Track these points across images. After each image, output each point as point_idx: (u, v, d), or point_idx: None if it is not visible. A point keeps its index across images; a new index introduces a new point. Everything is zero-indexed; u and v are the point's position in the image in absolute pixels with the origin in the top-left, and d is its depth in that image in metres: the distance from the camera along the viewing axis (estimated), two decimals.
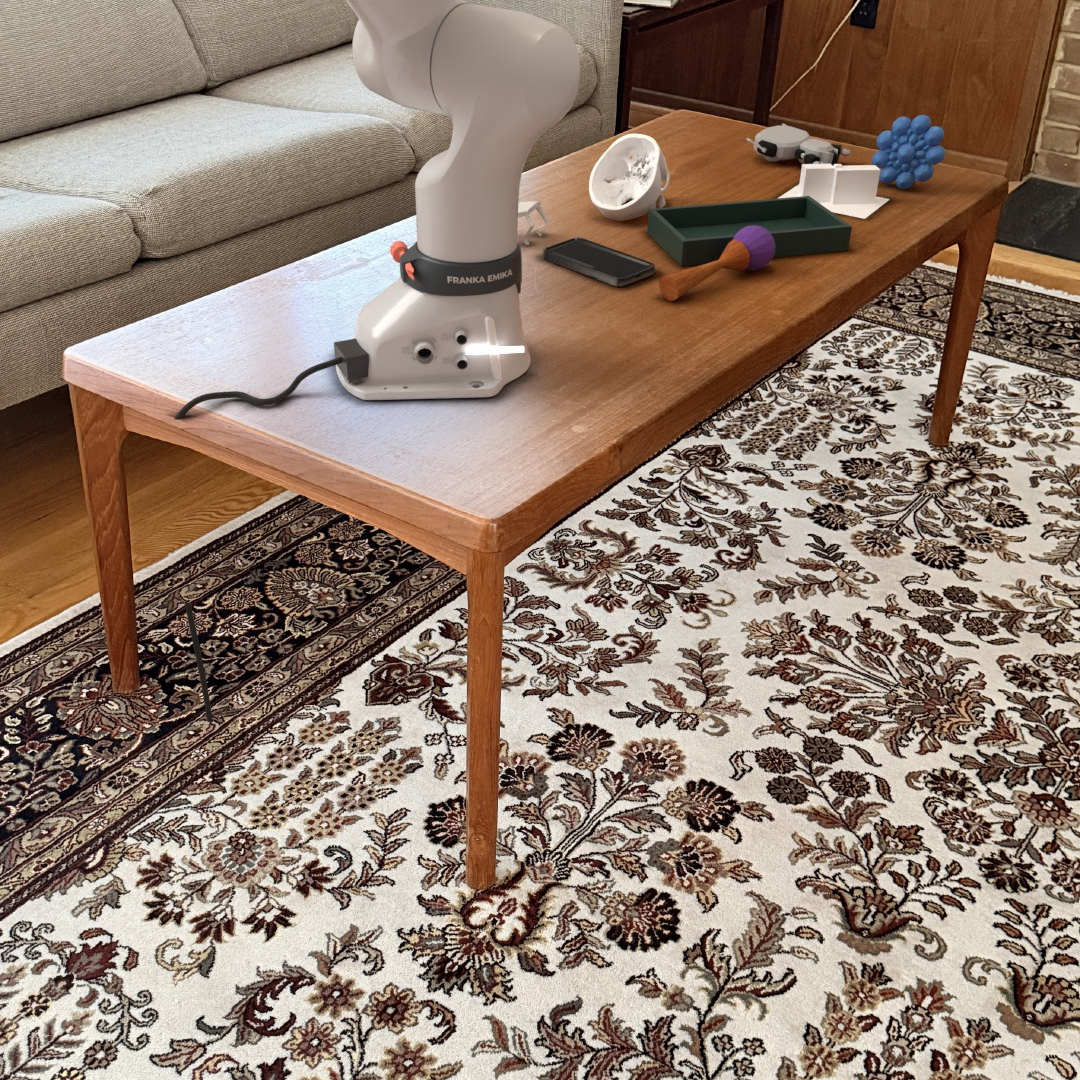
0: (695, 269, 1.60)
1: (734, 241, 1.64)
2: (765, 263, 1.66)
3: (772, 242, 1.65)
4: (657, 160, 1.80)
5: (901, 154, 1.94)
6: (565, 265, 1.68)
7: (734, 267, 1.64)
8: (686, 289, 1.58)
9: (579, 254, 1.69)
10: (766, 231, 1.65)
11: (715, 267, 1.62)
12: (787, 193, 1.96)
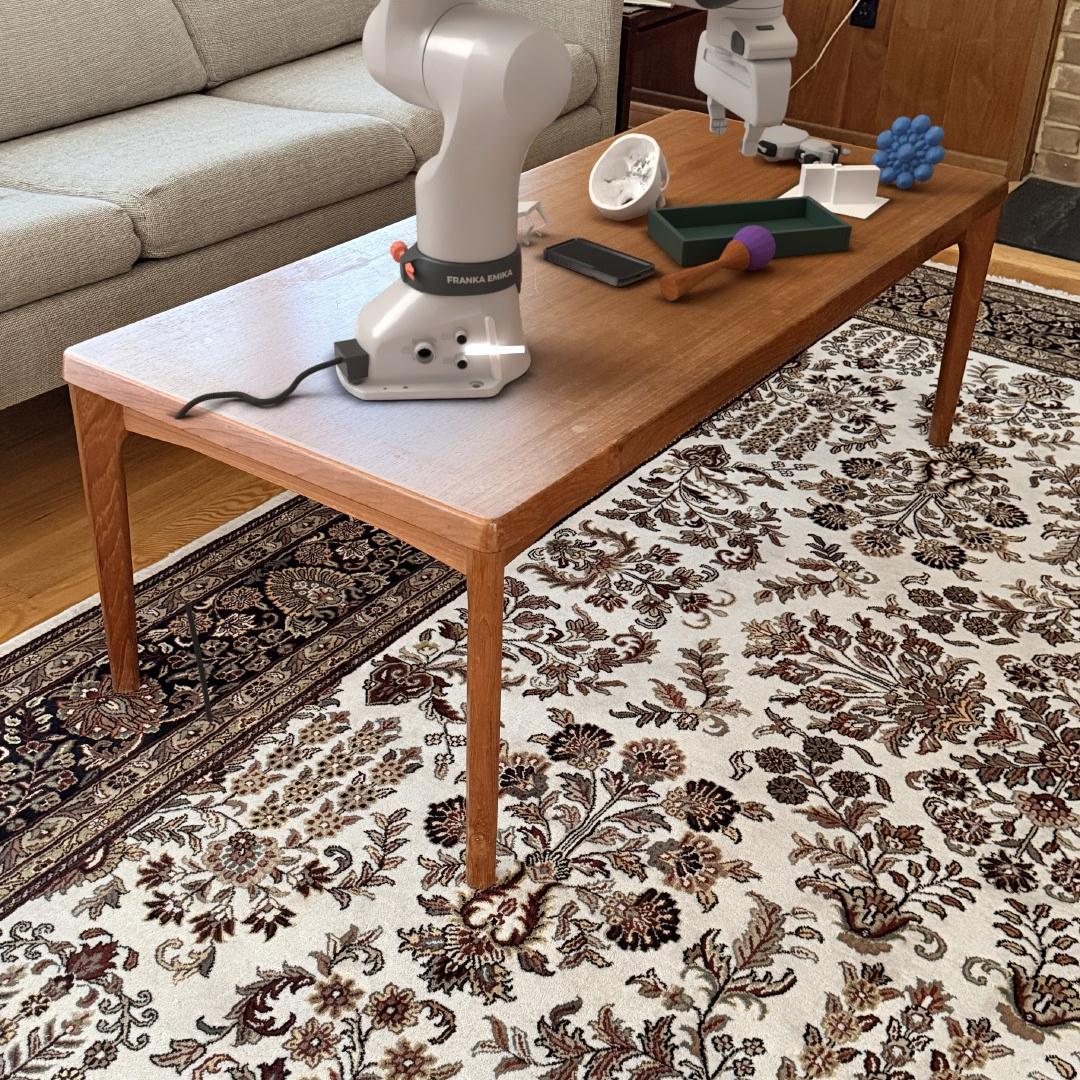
0: (695, 269, 1.60)
1: (734, 241, 1.64)
2: (765, 263, 1.66)
3: (772, 242, 1.65)
4: (657, 160, 1.80)
5: (901, 154, 1.94)
6: (565, 265, 1.68)
7: (734, 267, 1.64)
8: (686, 289, 1.58)
9: (579, 254, 1.69)
10: (766, 231, 1.65)
11: (715, 267, 1.62)
12: (787, 193, 1.96)
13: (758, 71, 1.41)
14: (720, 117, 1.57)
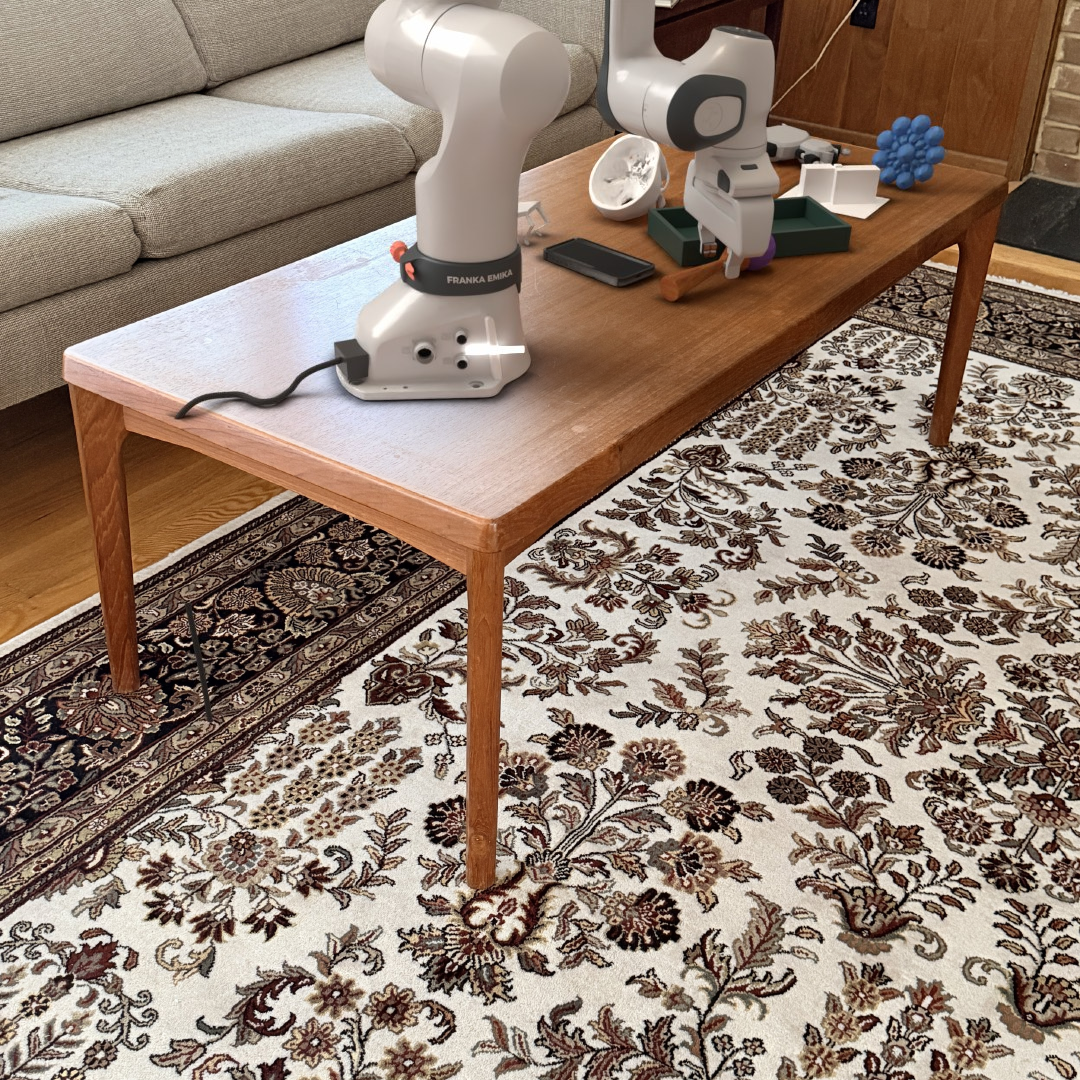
0: (695, 269, 1.60)
1: None
2: (765, 263, 1.66)
3: (772, 242, 1.65)
4: (657, 160, 1.80)
5: (901, 154, 1.94)
6: (565, 265, 1.68)
7: None
8: (687, 290, 1.58)
9: (579, 254, 1.69)
10: None
11: (715, 267, 1.62)
12: (787, 193, 1.96)
13: (742, 208, 1.50)
14: (710, 241, 1.66)
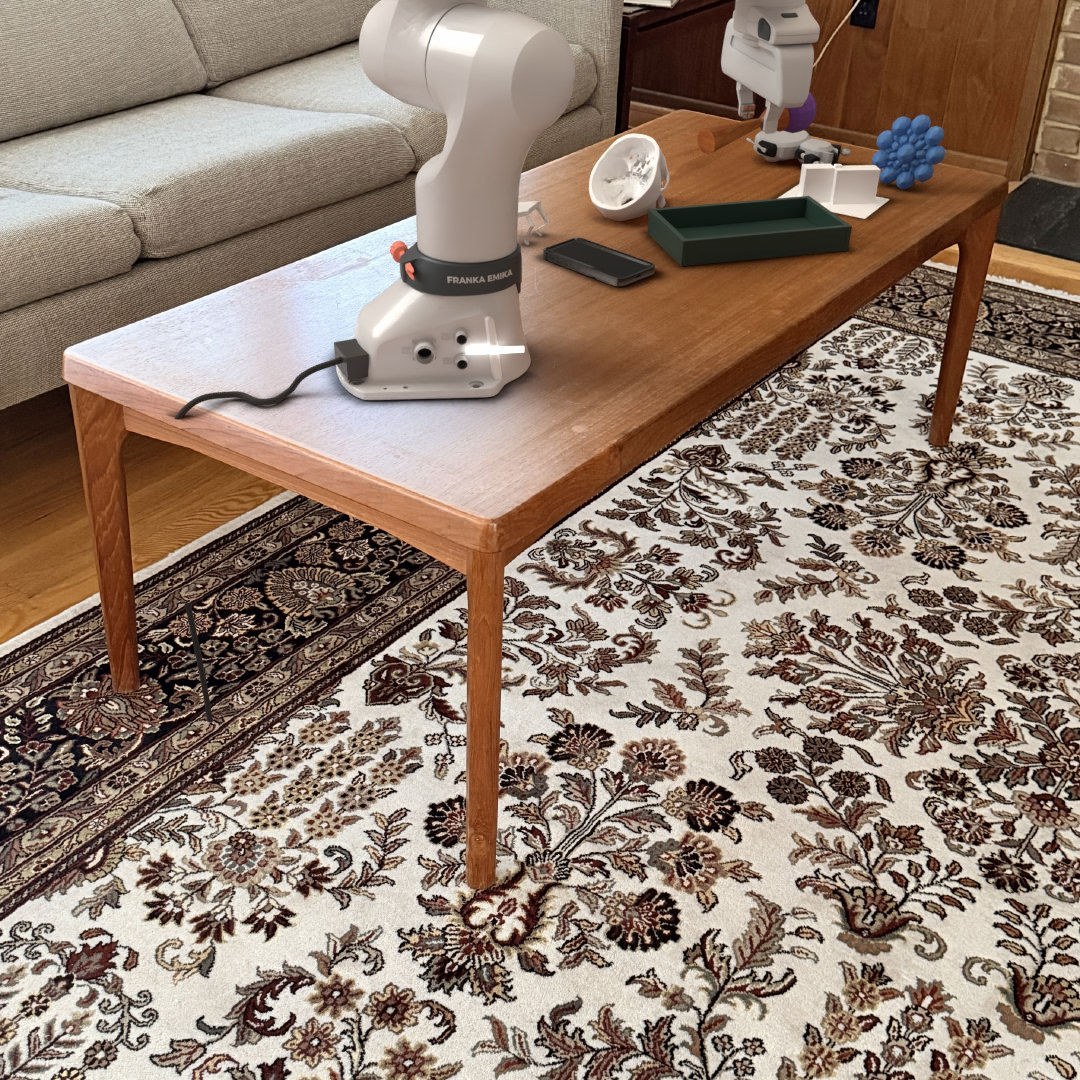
0: (733, 124, 1.62)
1: None
2: (805, 124, 1.68)
3: (813, 103, 1.67)
4: (657, 160, 1.80)
5: (901, 154, 1.94)
6: (565, 265, 1.68)
7: None
8: (723, 143, 1.61)
9: (579, 254, 1.69)
10: None
11: (754, 124, 1.64)
12: (787, 193, 1.96)
13: (783, 55, 1.52)
14: (748, 102, 1.68)
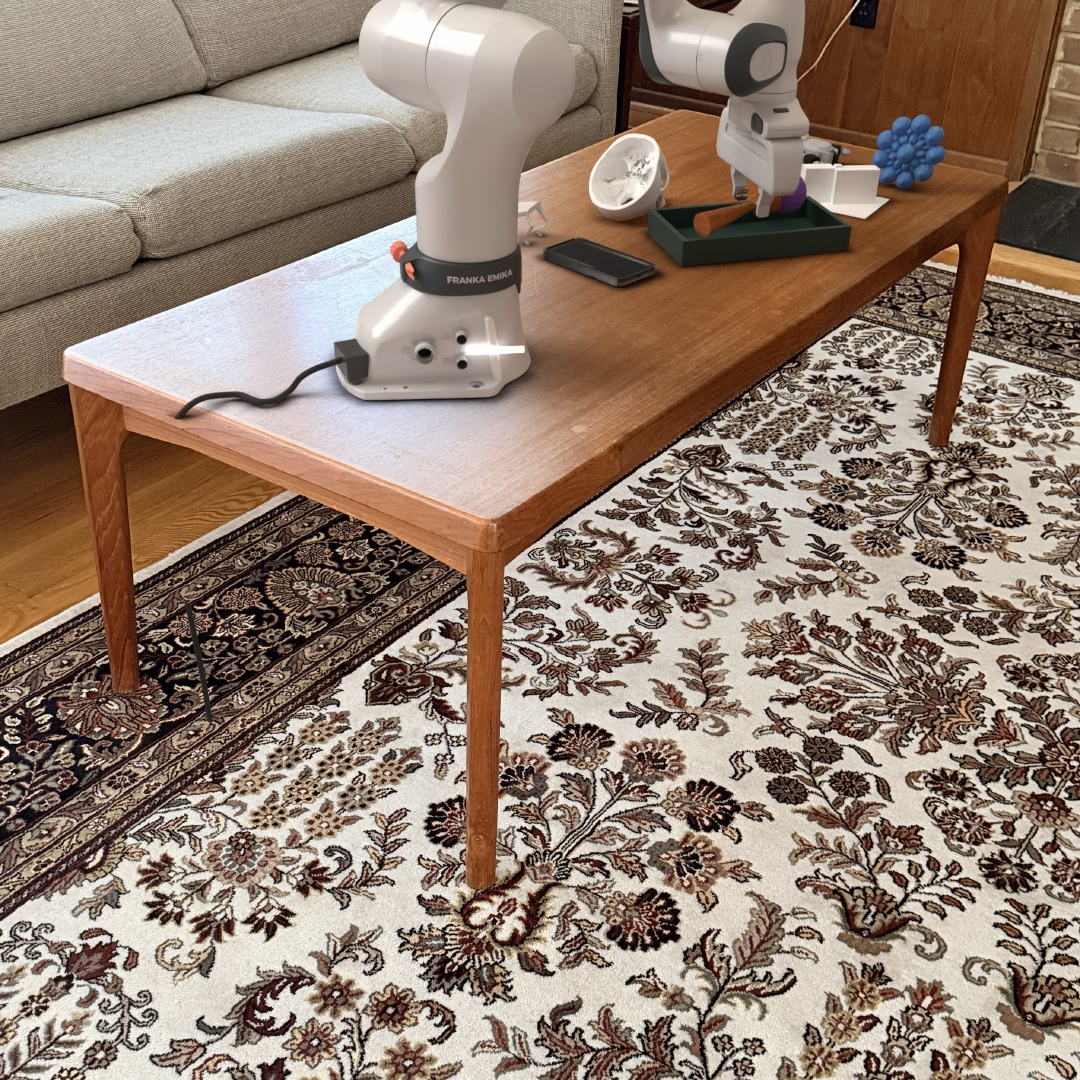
0: (728, 208, 1.71)
1: None
2: (796, 206, 1.77)
3: (804, 186, 1.76)
4: (657, 160, 1.80)
5: (901, 154, 1.94)
6: (565, 265, 1.68)
7: None
8: (718, 226, 1.70)
9: (579, 254, 1.69)
10: None
11: (747, 207, 1.73)
12: None
13: (775, 148, 1.61)
14: (742, 185, 1.77)
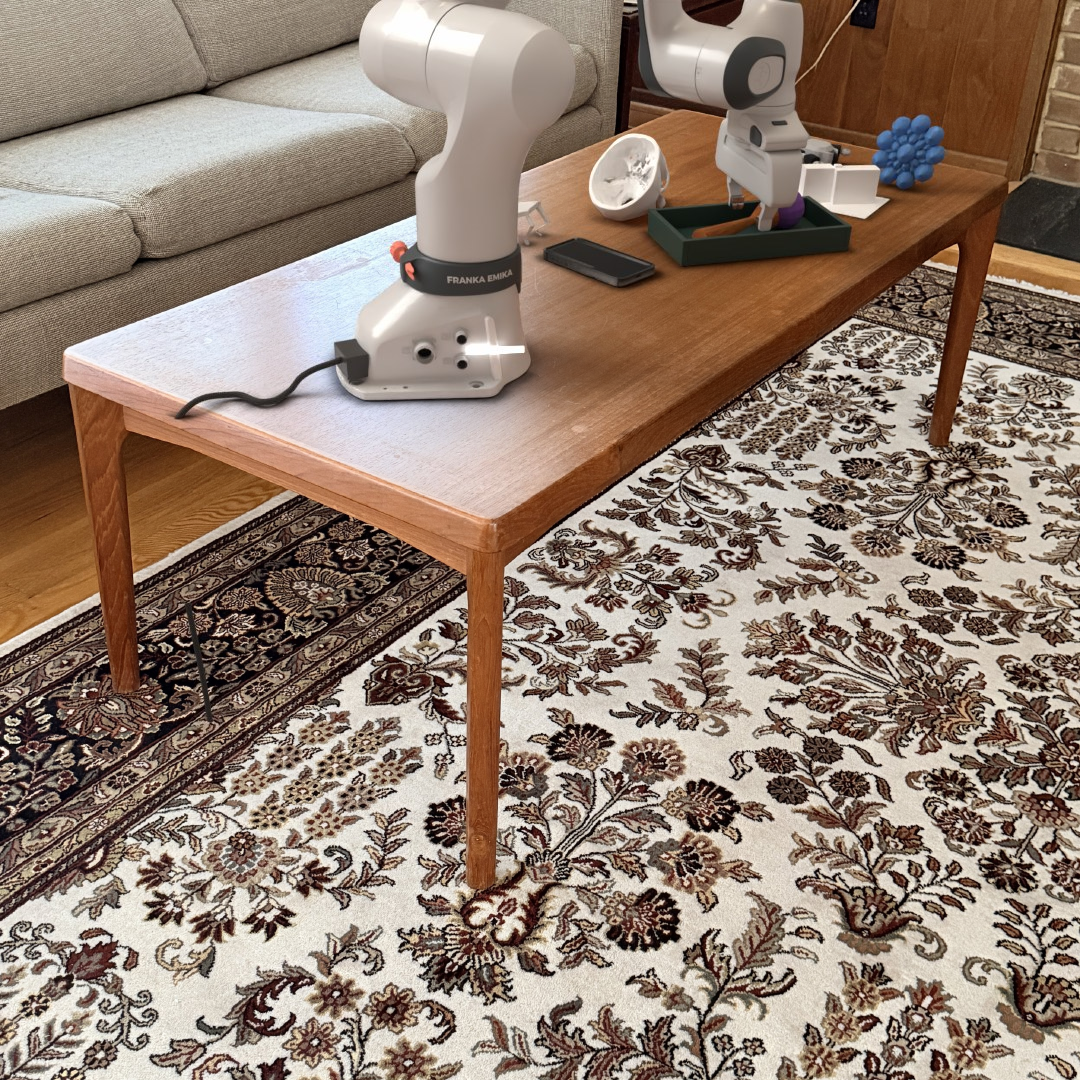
0: (726, 224, 1.72)
1: None
2: (794, 222, 1.78)
3: (802, 202, 1.77)
4: (657, 160, 1.80)
5: (901, 154, 1.94)
6: (565, 265, 1.68)
7: None
8: None
9: (579, 254, 1.69)
10: None
11: (746, 223, 1.74)
12: None
13: (773, 161, 1.62)
14: (738, 194, 1.78)
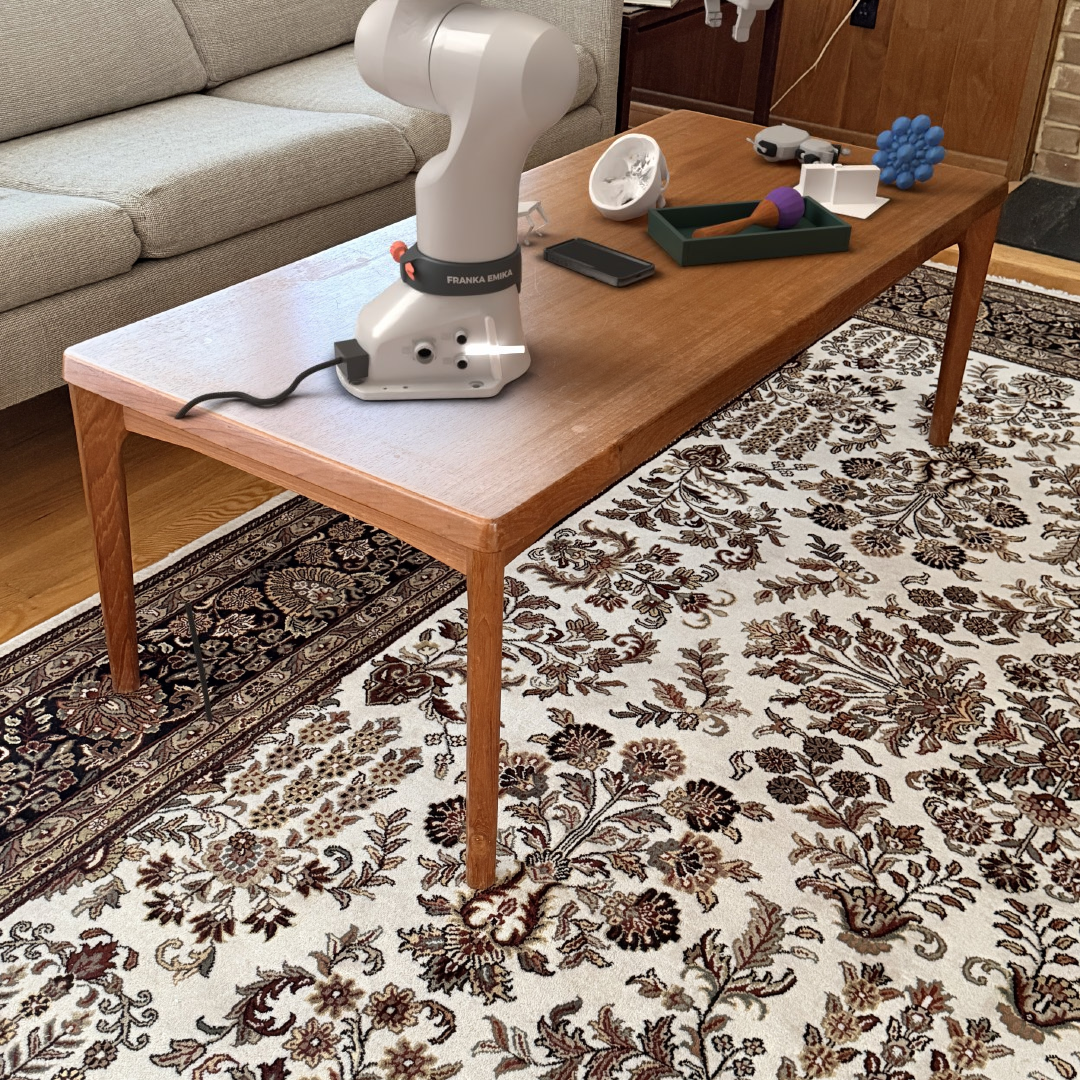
0: (726, 224, 1.72)
1: (765, 200, 1.77)
2: (794, 222, 1.78)
3: (802, 202, 1.77)
4: (657, 160, 1.80)
5: (901, 154, 1.94)
6: (565, 265, 1.68)
7: (764, 224, 1.77)
8: None
9: (579, 254, 1.69)
10: (796, 192, 1.77)
11: (746, 223, 1.74)
12: None
13: None
14: (715, 10, 1.70)
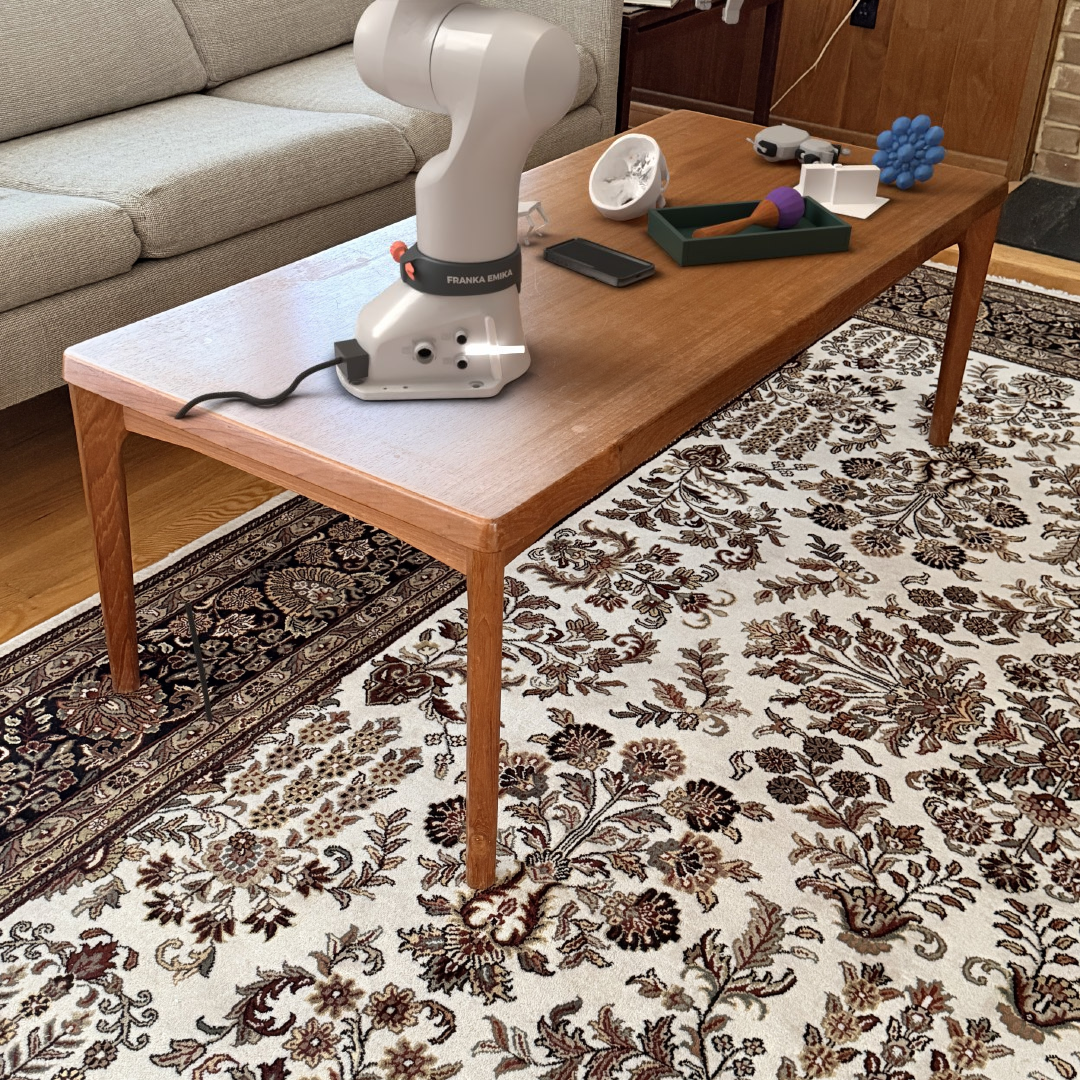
0: (726, 224, 1.72)
1: (765, 200, 1.77)
2: (794, 222, 1.78)
3: (802, 202, 1.77)
4: (657, 160, 1.80)
5: (901, 154, 1.94)
6: (565, 265, 1.68)
7: (764, 224, 1.77)
8: None
9: (579, 254, 1.69)
10: (796, 192, 1.77)
11: (746, 223, 1.74)
12: None
13: None
14: None
